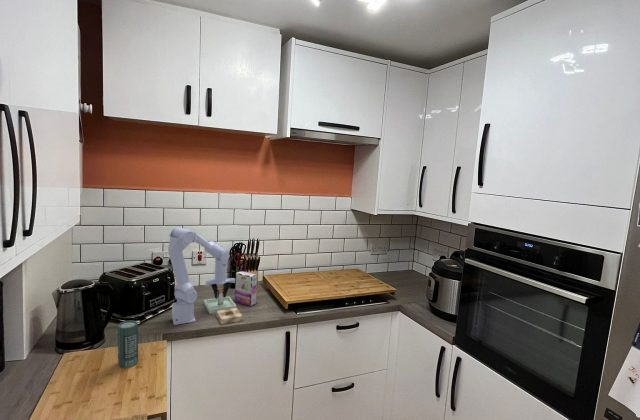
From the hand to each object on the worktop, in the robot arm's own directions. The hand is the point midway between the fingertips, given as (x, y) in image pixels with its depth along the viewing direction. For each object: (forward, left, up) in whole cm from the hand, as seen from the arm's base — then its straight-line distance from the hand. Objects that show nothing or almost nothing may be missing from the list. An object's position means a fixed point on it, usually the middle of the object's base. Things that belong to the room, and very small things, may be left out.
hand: (220, 297), depth 176 cm
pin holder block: (+1, -14, -5) cm, 15 cm away
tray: (0, 0, -5) cm, 5 cm away
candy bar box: (+14, +1, -6) cm, 15 cm away
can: (-42, -36, -6) cm, 56 cm away
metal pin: (0, -1, -3) cm, 4 cm away
